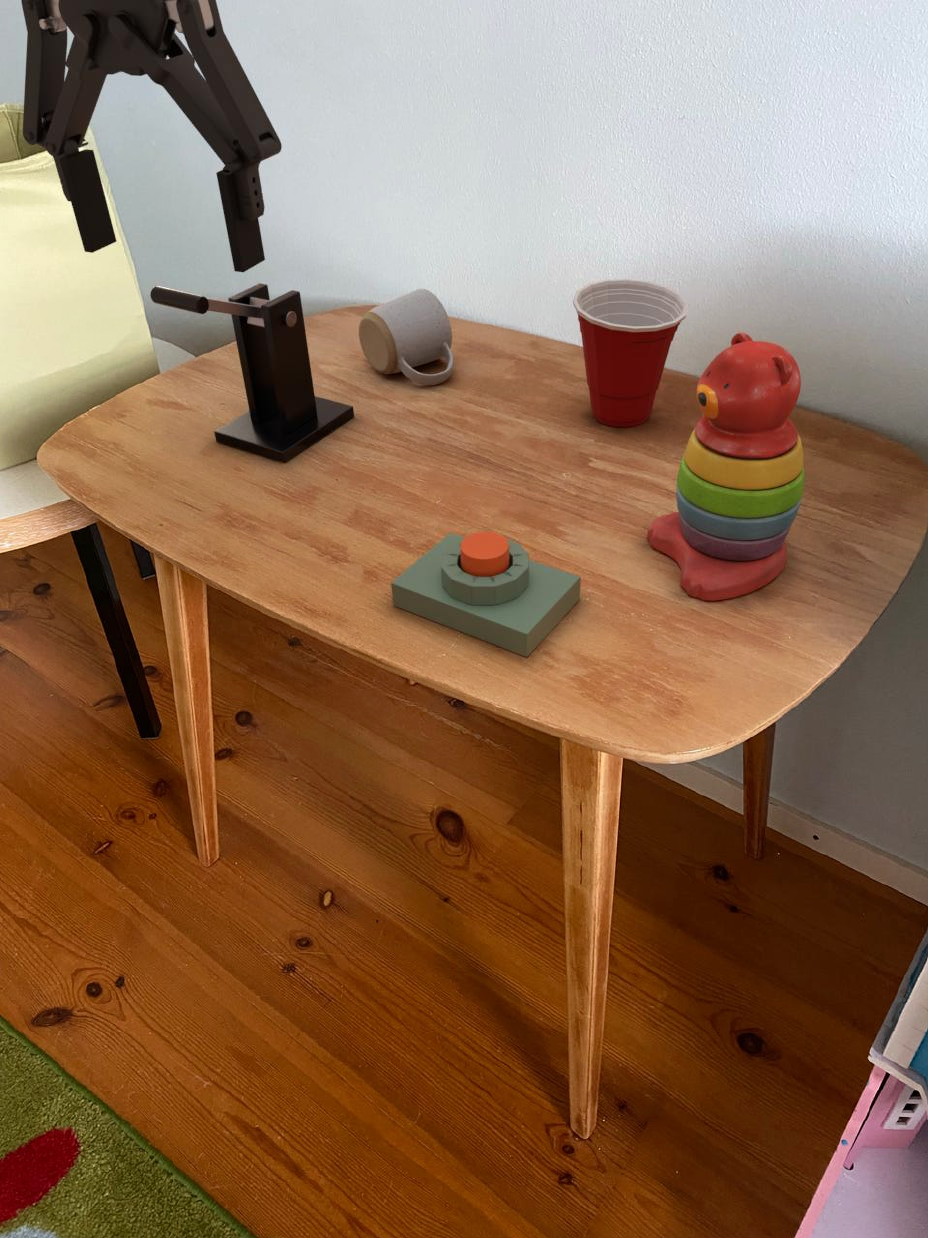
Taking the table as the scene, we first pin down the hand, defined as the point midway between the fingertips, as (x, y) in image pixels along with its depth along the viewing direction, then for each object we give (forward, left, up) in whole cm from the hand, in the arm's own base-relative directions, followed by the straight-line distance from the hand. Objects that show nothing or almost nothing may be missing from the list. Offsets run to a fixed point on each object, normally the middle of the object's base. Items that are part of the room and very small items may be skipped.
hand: (173, 256), depth 72 cm
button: (+23, -12, -19) cm, 32 cm away
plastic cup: (+36, +19, -23) cm, 47 cm away
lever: (-1, +13, -10) cm, 16 cm away
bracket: (+2, +17, -23) cm, 29 cm away
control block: (+23, -12, -23) cm, 34 cm away
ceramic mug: (+14, +31, -23) cm, 41 cm away
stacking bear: (+42, -6, -23) cm, 48 cm away
